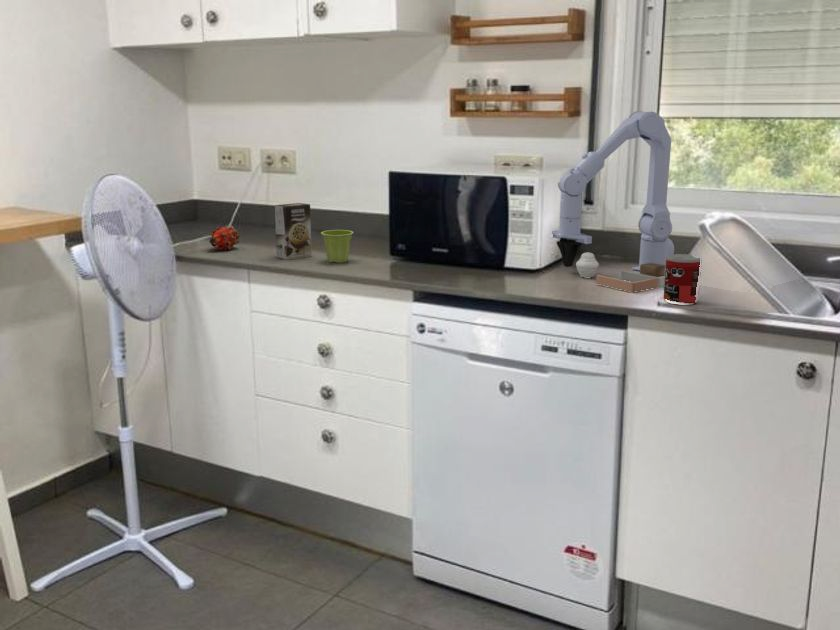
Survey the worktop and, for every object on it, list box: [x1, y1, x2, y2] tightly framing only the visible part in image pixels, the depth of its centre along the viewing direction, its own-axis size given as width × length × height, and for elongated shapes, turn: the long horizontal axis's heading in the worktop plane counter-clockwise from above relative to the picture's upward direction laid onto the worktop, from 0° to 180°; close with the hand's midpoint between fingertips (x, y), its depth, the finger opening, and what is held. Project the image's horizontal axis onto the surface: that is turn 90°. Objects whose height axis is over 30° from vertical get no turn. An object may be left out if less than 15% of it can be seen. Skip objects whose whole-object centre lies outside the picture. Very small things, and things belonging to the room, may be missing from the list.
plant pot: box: [320, 229, 354, 264], centre depth 253 cm, size 9×9×9 cm
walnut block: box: [639, 263, 665, 277], centre depth 225 cm, size 4×4×4 cm
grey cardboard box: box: [274, 202, 313, 261], centre depth 258 cm, size 9×6×16 cm
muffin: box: [575, 251, 600, 278], centre depth 230 cm, size 6×6×7 cm
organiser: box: [595, 270, 665, 293], centre depth 223 cm, size 20×12×2 cm, turn 127°
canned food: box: [663, 253, 700, 303], centre depth 202 cm, size 8×8×11 cm
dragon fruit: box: [209, 224, 240, 252], centre depth 271 cm, size 8×8×12 cm
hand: (568, 266), depth 236 cm, fingers closed
